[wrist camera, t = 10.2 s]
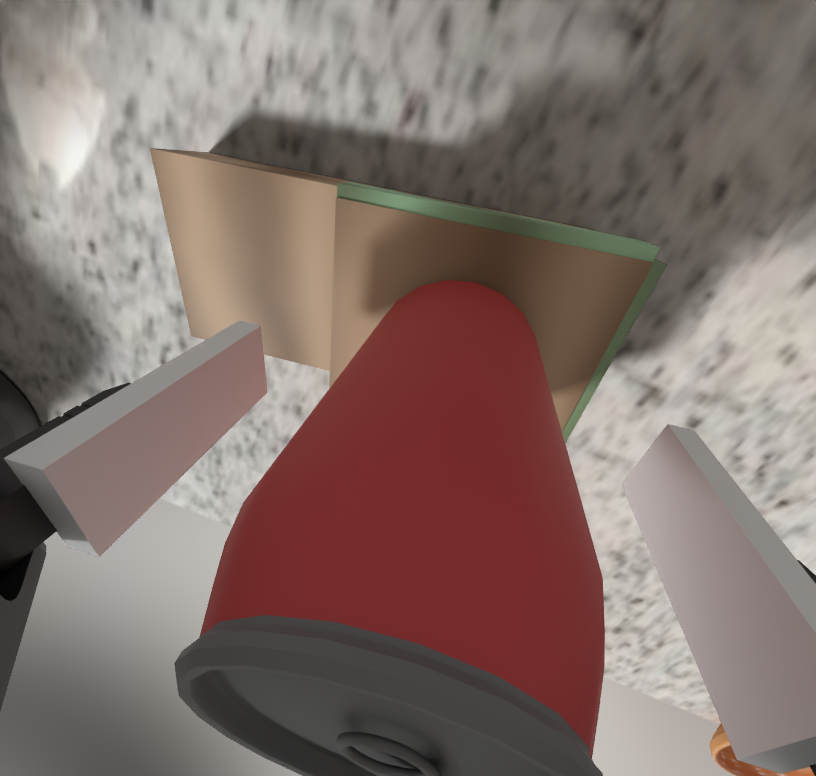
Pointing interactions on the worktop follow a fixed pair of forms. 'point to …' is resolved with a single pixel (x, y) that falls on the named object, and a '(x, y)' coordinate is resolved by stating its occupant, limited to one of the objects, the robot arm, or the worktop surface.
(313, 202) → the step stand
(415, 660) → the beer can
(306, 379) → the worktop surface
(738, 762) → the saucer
